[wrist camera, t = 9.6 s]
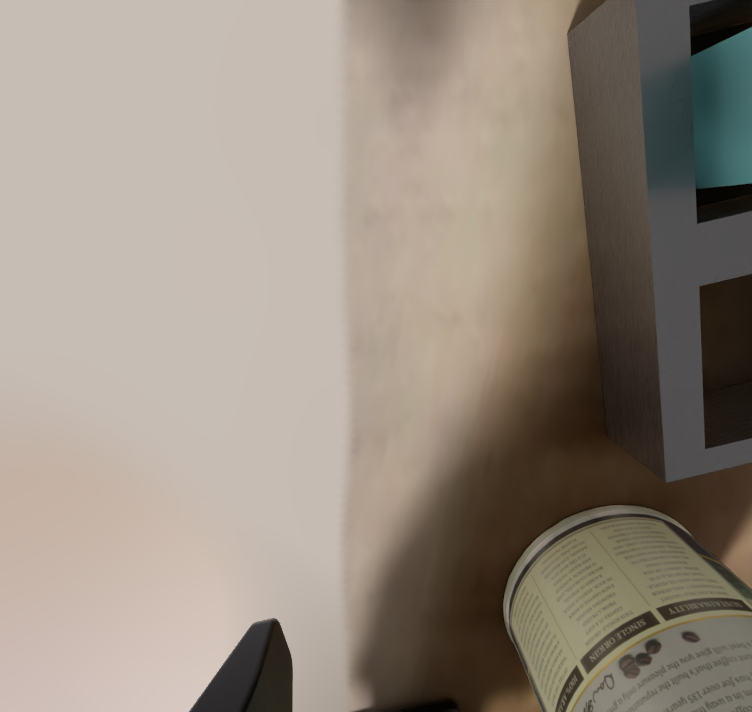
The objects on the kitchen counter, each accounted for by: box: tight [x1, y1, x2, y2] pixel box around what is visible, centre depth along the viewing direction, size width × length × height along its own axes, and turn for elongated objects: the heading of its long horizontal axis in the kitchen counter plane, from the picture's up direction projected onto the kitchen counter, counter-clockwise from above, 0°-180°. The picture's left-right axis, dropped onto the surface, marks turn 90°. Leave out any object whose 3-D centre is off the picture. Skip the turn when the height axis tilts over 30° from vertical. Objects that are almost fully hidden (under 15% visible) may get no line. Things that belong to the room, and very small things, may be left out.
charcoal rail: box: [567, 0, 752, 483], centre depth 17 cm, size 16×9×4 cm, turn 13°
